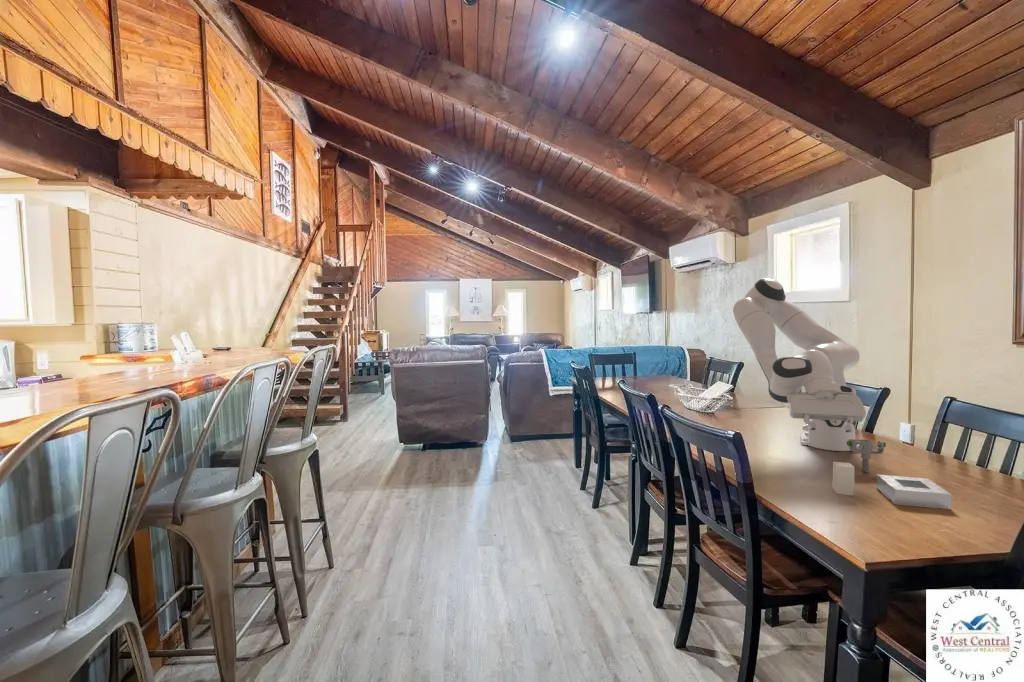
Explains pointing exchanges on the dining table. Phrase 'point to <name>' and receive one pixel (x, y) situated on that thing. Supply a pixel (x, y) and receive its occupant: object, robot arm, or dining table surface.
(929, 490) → the grey square socket base
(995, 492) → the dining table surface
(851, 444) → the mechanical component
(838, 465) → the plug
